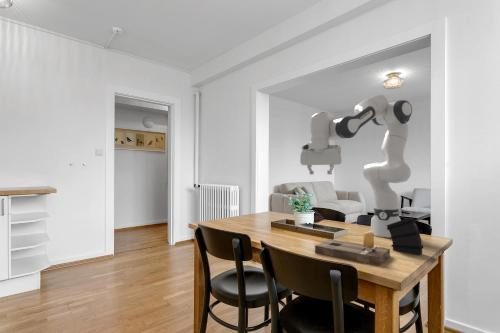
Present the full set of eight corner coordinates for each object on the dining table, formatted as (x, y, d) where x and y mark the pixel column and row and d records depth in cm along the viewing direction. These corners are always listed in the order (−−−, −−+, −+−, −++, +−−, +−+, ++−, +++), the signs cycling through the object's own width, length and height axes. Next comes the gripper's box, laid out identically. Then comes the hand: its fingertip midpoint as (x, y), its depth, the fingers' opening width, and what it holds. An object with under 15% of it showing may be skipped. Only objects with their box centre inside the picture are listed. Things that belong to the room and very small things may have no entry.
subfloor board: (329, 245, 130) (329, 238, 130) (389, 256, 113) (389, 248, 113) (315, 252, 119) (315, 245, 119) (379, 265, 102) (379, 256, 102)
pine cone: (327, 225, 177) (326, 209, 177) (320, 227, 169) (320, 211, 169) (301, 222, 188) (301, 207, 188) (294, 224, 180) (294, 209, 180)
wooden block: (365, 255, 114) (365, 231, 114) (375, 257, 112) (374, 232, 112) (362, 258, 111) (362, 232, 111) (372, 259, 109) (371, 234, 109)
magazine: (428, 253, 111) (410, 217, 116) (397, 260, 120) (381, 226, 125) (431, 251, 114) (413, 216, 118) (400, 258, 122) (385, 225, 127)
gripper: (343, 144, 131) (344, 174, 131) (304, 147, 144) (305, 174, 144) (338, 144, 126) (338, 174, 126) (298, 146, 139) (298, 174, 139)
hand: (320, 174), depth 135 cm, fingers open, 8 cm apart
